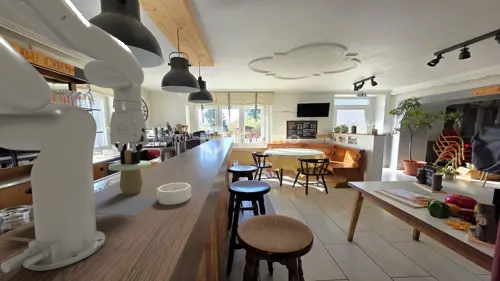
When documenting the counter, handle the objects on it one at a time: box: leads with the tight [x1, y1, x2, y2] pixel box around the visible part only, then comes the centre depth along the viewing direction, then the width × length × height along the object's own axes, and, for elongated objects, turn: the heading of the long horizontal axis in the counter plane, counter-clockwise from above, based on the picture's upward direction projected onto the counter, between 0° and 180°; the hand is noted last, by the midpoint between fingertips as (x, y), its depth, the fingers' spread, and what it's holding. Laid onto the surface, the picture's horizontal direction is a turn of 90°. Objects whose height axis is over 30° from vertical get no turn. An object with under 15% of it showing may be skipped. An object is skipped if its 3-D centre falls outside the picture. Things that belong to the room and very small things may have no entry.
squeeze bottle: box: [119, 148, 144, 196], centre depth 79 cm, size 8×8×18 cm
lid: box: [107, 149, 152, 172], centre depth 65 cm, size 12×12×5 cm
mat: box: [95, 196, 159, 217], centre depth 66 cm, size 14×14×1 cm
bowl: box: [156, 182, 192, 206], centre depth 72 cm, size 11×11×5 cm
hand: (130, 163), depth 65 cm, fingers closed on lid, 3 cm apart
